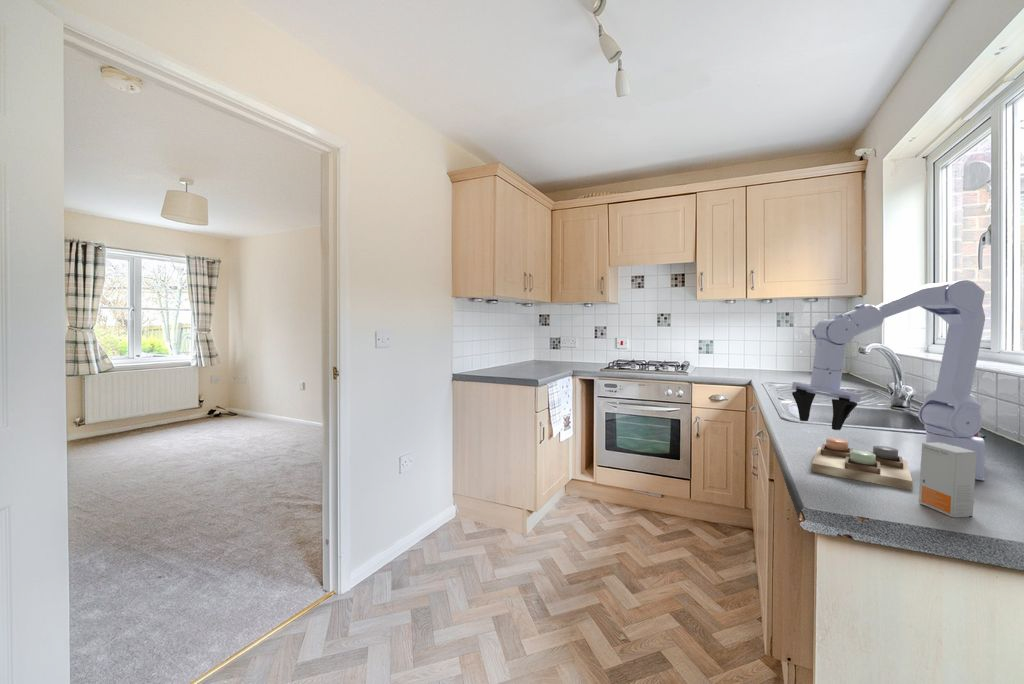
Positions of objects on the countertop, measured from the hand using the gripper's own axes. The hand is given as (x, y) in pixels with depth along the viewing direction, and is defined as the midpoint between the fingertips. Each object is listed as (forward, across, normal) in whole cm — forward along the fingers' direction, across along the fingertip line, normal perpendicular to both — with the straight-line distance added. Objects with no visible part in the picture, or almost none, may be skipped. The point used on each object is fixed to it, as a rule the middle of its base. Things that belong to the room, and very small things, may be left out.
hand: (819, 425), depth 101 cm
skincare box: (+9, +25, -1) cm, 27 cm away
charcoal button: (+5, +8, +12) cm, 15 cm away
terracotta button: (+6, 0, +8) cm, 10 cm away
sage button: (+6, +8, +3) cm, 11 cm away
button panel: (+9, +6, +7) cm, 13 cm away
